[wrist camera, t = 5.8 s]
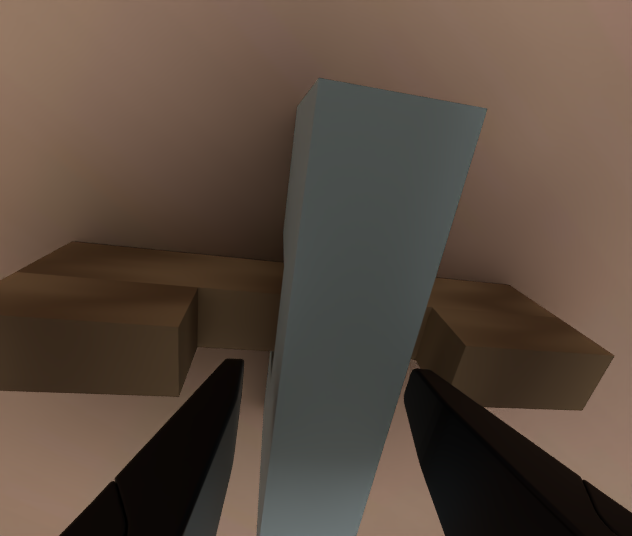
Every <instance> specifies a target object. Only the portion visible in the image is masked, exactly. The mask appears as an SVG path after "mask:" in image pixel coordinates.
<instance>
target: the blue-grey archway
mask: <svg viewBox="0 0 632 536" xmlns="http://www.w3.org/2000/svg"><path fill="white" fill-rule="evenodd" d="M486 112H487V108H482V107H476V106H471V105H465V104H460V103H454V102H449V101H443V100H438V99H432V98H427V97H421V96H416V95H410V94H405V93H399V92H394V91H388V90H383V89H378V88H372V87H367V86H361V85H356V84H350V83H345V82H339V81H334V80H328V79H323V78H318V80H317V81H316V82H315V84H314V85H313V86H312V88H311V89H310V90H309V91H308V93H307V94H306V95H305V97H304V98H303V99H302V101H301V102H300V103H299V105H298V106H297V112H296V121H295V130H294V139H293V148H292V157H291V166H290V175H289V184H288V193H287V202H286V211H285V221H284V230H283V245H284V272H283V281H282V289H281V298H280V307H279V315H278V324H277V332H276V341H275V349H274V351H270V356H269V365H268V374H267V383H266V392H265V402H264V413H263V431H262V448H261V466H260V483H259V501H258V518H257V536H356V535H357V532H358V528H359V525H360V522H361V519H362V515H363V512H364V509H365V506H366V502H367V499H368V496H369V493H370V489H371V486H372V483H373V480H374V476H375V473H376V470H377V467H378V463H379V460H380V457H381V454H382V450H383V447H384V444H385V440H386V437H387V434H388V431H389V427H390V424H391V421H392V418H393V414H394V411H395V408H396V405H397V401H398V398H399V395H400V392H401V388H402V385H403V382H404V379H405V375H406V372H407V369H408V366H409V362H410V359H411V356H412V353H413V349H414V346H415V343H416V340H417V336H418V333H419V330H420V327H421V323H422V320H423V317H424V314H425V310H426V307H427V304H428V300H429V297H430V294H431V291H432V287H433V284H434V281H435V278H436V274H437V271H438V268H439V265H440V261H441V258H442V255H443V252H444V248H445V245H446V242H447V239H448V235H449V232H450V229H451V226H452V222H453V219H454V216H455V213H456V209H457V206H458V203H459V200H460V196H461V193H462V190H463V187H464V183H465V180H466V177H467V174H468V170H469V167H470V164H471V160H472V157H473V154H474V151H475V147H476V144H477V141H478V138H479V134H480V131H481V128H482V125H483V121H484V118H485V115H486Z"/></svg>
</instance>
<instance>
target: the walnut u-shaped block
mask: <svg viewBox="0 0 632 536" xmlns="http://www.w3.org/2000/svg"><path fill="white" fill-rule="evenodd" d="M283 272H284V263H283V262H273V261H263V260H253V259H243V258H233V257H223V256H213V255H203V254H193V253H183V252H172V251H162V250H152V249H142V248H132V247H122V246H112V245H102V244H92V243H82V242H70V243H68V244H67V245H65V246H63V247H61V248H59V249H57V250H55V251H54V252H52V253H50V254H48V255H46V256H44V257H43V258H41V259H39V260H37V261H35V262H33V263H32V264H30V265H28V266H26V267H24V268H22V269H21V270H19V271H17V272H15V273H13V274H11V275H9V276H8V277H6V278H4V279H2V280H0V391H26V392H56V393H85V394H114V395H143V396H173V397H179V395H180V392H181V389H182V387H183V384H184V381H185V379H186V376H187V373H188V371H189V368H190V365H191V362H192V360H193V357H194V354H195V352H196V349H197V347H206V348H224V349H241V350H259V351H274V349H275V341H276V332H277V324H278V315H279V307H280V298H281V289H282V281H283ZM613 358H614V355H613V354H611V353H610V352H608V351H607V350H605V349H604V348H602V347H601V346H599V345H598V344H596V343H595V342H593V341H592V340H590V339H589V338H587V337H586V336H584V335H583V334H582V333H580V332H579V331H577V330H576V329H574V328H573V327H571V326H570V325H568V324H567V323H565V322H564V321H562V320H561V319H559V318H558V317H556V316H555V315H553V314H552V313H550V312H549V311H547V310H546V309H544V308H543V307H541V306H540V305H538V304H537V303H535V302H534V301H532V300H531V299H529V298H528V297H526V296H525V295H523V294H522V293H520V292H519V291H517V290H516V289H514V288H513V287H511V286H510V285H504V284H494V283H484V282H474V281H464V280H454V279H444V278H435V281H434V284H433V287H432V291H431V294H430V297H429V300H428V304H427V307H426V310H425V314H424V317H423V320H422V323H421V327H420V330H419V333H418V336H417V340H416V343H415V346H414V349H413V353H412V356H411V359H415V360H416V361H417V363H418V365H419V366H420V368H421V369H430V370H432V371H433V372H434V373H436V374H437V375H439V376H440V377H441V378H443V379H444V380H446V381H447V382H448V383H450V384H451V385H453V386H454V387H456V388H457V389H458V390H460V391H461V392H463V393H464V394H465V395H467V396H468V397H470V398H471V399H472V400H474V401H475V402H477V403H478V404H479V405H481V406H482V407H495V408H524V409H553V410H583V408H584V407H585V405H586V403H587V401H588V400H589V398H590V396H591V395H592V393H593V391H594V390H595V388H596V386H597V385H598V383H599V381H600V380H601V378H602V376H603V374H604V373H605V371H606V369H607V368H608V366H609V364H610V363H611V361H612V359H613Z"/></svg>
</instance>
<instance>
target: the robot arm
mask: <svg viewBox="0 0 632 536" xmlns="http://www.w3.org/2000/svg"><path fill="white" fill-rule="evenodd" d="M243 373H244V360H242V359H230V358H229V359H225V360H224V361H223V362H222V364H221V365H220V366H219V367H218V368H217V369H216V370H215V371H214V372H213V373H212V374H211V375H210V376H209V377H208V379H207V380H206V381H205V382H204V383H203V384H202V385H201V386H200V387H199V388H198V389H197V390H196V391H195V392H194V394H193V395H192V396H191V397H190V398H189V399H188V400H187V401H186V402H185V403H184V404H183V405H182V406H181V407H180V409H179V410H178V411H177V412H176V413H175V414H174V415H173V416H172V417H171V418H170V419H169V420H168V421H167V422H166V424H165V425H164V426H163V427H162V428H161V429H160V430H159V431H158V432H157V433H156V434H155V435H154V436H153V437H152V439H151V440H150V441H149V442H148V443H147V444H146V445H145V446H144V447H143V448H142V449H141V450H140V451H139V452H138V454H137V455H136V456H135V457H134V458H133V459H132V460H131V461H130V462H129V463H128V464H127V465H126V466H125V467H124V469H123V470H122V471H121V472H120V473H119V474H118V475H117V476H116V477H115V481H112V482H110V483H109V484H108V485H107V486H106V487H105V489H104V490H103V491H102V492H101V493H100V494H99V495H98V496H97V497H96V498H95V499H94V500H93V502H92V503H91V504H90V505H89V506H88V507H87V508H86V509H85V510H84V511H83V512H82V513H81V514H80V515H79V516H78V517H77V518H76V519H75V520H74V521H73V522H72V523H71V524H70V525H69V526H68V527H67V528H66V529H65V530H64V531H63V532H62V533H61V534H60V535H59V536H216V533H217V528H218V524H219V520H220V516H221V512H222V508H223V504H224V499H225V495H226V491H227V487H228V483H229V479H230V474H231V470H232V465H233V459H234V452H235V444H236V436H237V428H238V420H239V412H240V404H241V396H242V385H243ZM404 404H405V408H406V412H407V416H408V420H409V424H410V428H411V432H412V436H413V440H414V444H415V448H416V452H417V456H418V459H419V463H420V466H421V469H422V472H423V475H424V478H425V481H426V484H427V486H428V489H429V492H430V495H431V498H432V500H433V503H434V506H435V509H436V512H437V514H438V517H439V520H440V523H441V526H442V528H443V531H444V534H445V536H632V513H631V512H630V511H628V510H627V509H626V508H624V507H623V506H621V505H620V504H618V503H617V502H615V501H614V500H613V499H611V498H610V497H608V496H607V495H605V494H604V493H603V492H601V491H600V490H599V489H597V488H596V487H594V486H593V485H592V484H590V483H589V482H587V481H586V480H582V479H581V477H580V476H579V475H577V474H576V473H575V472H573V471H572V470H570V469H569V468H568V467H566V466H565V465H563V464H562V463H561V462H559V461H558V460H556V459H555V458H554V457H552V456H551V455H549V454H548V453H547V452H545V451H544V450H542V449H541V448H540V447H538V446H537V445H535V444H534V443H533V442H531V441H530V440H528V439H527V438H526V437H524V436H523V435H521V434H520V433H519V432H517V431H516V430H514V429H513V428H512V427H510V426H509V425H507V424H506V423H505V422H503V421H502V420H500V419H499V418H498V417H496V416H495V415H493V414H492V413H491V412H489V411H488V410H486V409H485V408H484V407H482V406H481V405H479V404H478V403H477V402H475V401H474V400H472V399H471V398H470V397H468V396H467V395H465V394H464V393H463V392H461V391H460V390H458V389H457V388H456V387H454V386H453V385H451V384H450V383H448V382H447V381H446V380H444V379H443V378H441V377H440V376H439V375H437V374H436V373H434V372H433V371H432V370H430V369H418V368H416V369H414V370H413V371H412V372H411V374H410V378H409V381H408V384H407V387H406V390H405V393H404Z"/></svg>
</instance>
